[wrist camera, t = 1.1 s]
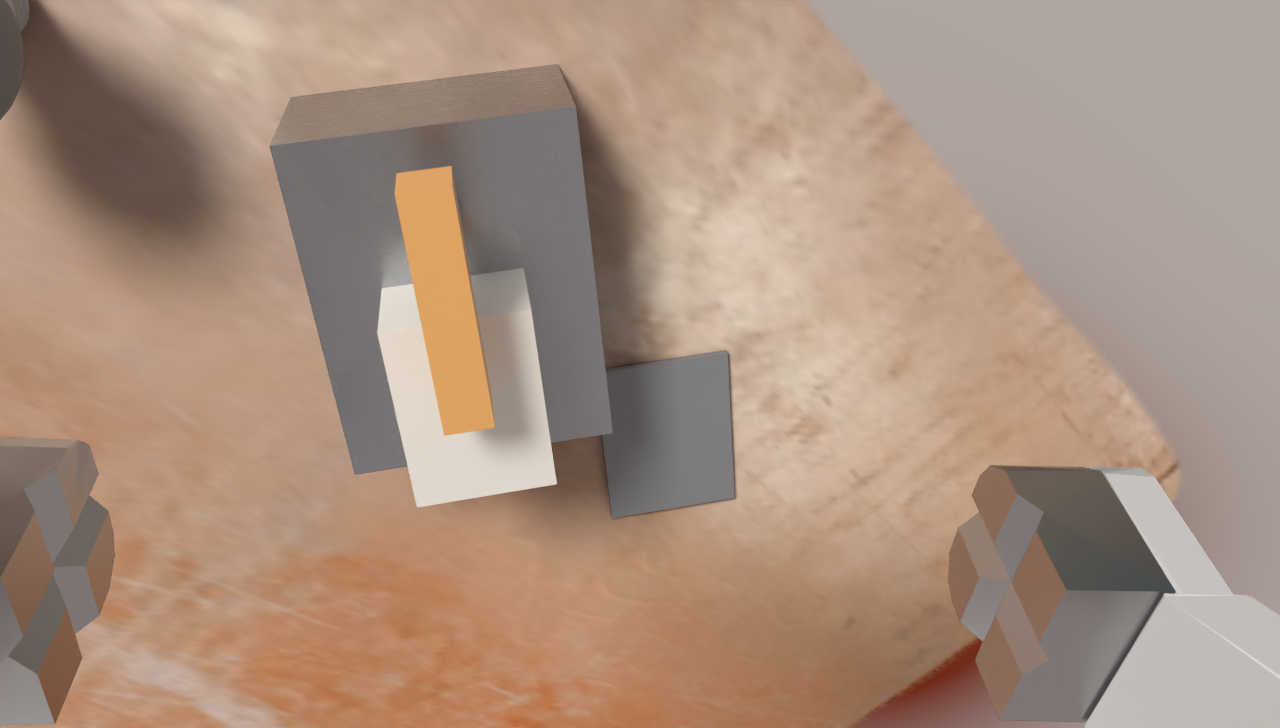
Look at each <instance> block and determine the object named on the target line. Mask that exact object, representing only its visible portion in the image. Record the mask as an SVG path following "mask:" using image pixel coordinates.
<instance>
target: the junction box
mask: <svg viewBox="0 0 1280 728" xmlns="http://www.w3.org/2000/svg"><path fill="white" fill-rule="evenodd" d="M270 149H271V153H272V157H273V161H274V165H275V169H276V173H277V176H278V180H279V184H280V188H281V192H282V196H283V200H284V203H285V207H286V211H287V215H288V219H289V223H290V226H291V230H292V234H293V238H294V242H295V246H296V250H297V253H298V257H299V261H300V265H301V269H302V273H303V277H304V280H305V284H306V288H307V292H308V296H309V300H310V304H311V307H312V311H313V315H314V319H315V323H316V327H317V330H318V334H319V338H320V342H321V346H322V350H323V354H324V357H325V361H326V365H327V369H328V373H329V377H330V381H331V384H332V388H333V392H334V396H335V400H336V404H337V408H338V411H339V415H340V419H341V423H342V427H343V431H344V435H345V438H346V442H347V446H348V450H349V454H350V458H351V461H352V465H353V469H354V473H355V475H357V474H363V473H369V472H375V471H381V470H388V469H394V468H400V467H406V466H407V461H406V457H405V453H404V448H403V444H402V439H401V435H400V431H399V426H398V422H397V418H396V413H395V409H394V405H393V400H392V396H391V391H390V387H389V383H388V378H387V374H386V370H385V365H384V361H383V356H382V352H381V348H380V343H379V339H378V335H377V330H378V320H379V310H380V300H381V290H382V288H388V287H395V286H402V285H409V284H413V282H412V277H411V272H410V267H409V262H408V258H407V253H406V248H405V243H404V238H403V233H402V228H401V223H400V219H399V214H398V209H397V204H396V199H395V183H396V173H402V172H410V171H417V170H425V169H432V168H440V167H447V166H452V171H453V177H454V183H455V188H456V194H457V200H458V202H459V203H460V206H461V210H462V224H463V234H464V240H465V246H466V251H467V257H468V263H469V268H470V274H471V275H478V274H485V273H492V272H499V271H506V270H513V269H520V268H524V273H525V278H526V284H527V289H528V295H529V300H530V306H531V311H532V318H533V325H534V332H535V339H536V345H537V352H538V359H539V366H540V373H541V379H542V386H543V393H544V400H545V407H546V413H547V420H548V427H549V434H550V441H551V443H555V442H561V441H567V440H574V439H580V438H586V437H592V436H598V435H604V434H611V433H613V431H612V422H611V413H610V404H609V395H608V387H607V378H606V369H605V360H604V351H603V342H602V333H601V324H600V315H599V306H598V298H597V289H596V280H595V271H594V262H593V253H592V244H591V235H590V226H589V217H588V209H587V200H586V191H585V182H584V173H583V164H582V155H581V146H580V137H579V129H578V120H577V111H576V105H575V103H574V101H573V98H572V96H571V94H570V91H569V89H568V87H567V84H566V82H565V80H564V77H563V75H562V73H561V70H560V68H559V66H558V65H550V66H542V67H534V68H526V69H518V70H510V71H502V72H494V73H485V74H477V75H469V76H461V77H453V78H445V79H437V80H429V81H421V82H413V83H405V84H397V85H389V86H381V87H372V88H364V89H356V90H348V91H340V92H332V93H324V94H316V95H308V96H300V97H292V98H291V99H290V101H289V103H288V105H287V108H286V110H285V112H284V114H283V117H282V119H281V121H280V123H279V126H278V128H277V130H276V132H275V135H274V137H273V139H272V142H271V144H270Z"/></svg>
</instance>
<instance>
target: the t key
mask: <svg viewBox="0 0 1280 728" xmlns="http://www.w3.org/2000/svg"><path fill="white" fill-rule="evenodd" d="M395 199H396V204H397V209H398V214H399V219H400V223H401V228H402V233H403V238H404V243H405V248H406V253H407V258H408V262H409V267H410V272H411V277H412V282H413V287H414V292H415V297H416V301H417V306H418V311H419V316H420V321H421V326H422V331H423V336H424V340H425V345H426V350H427V355H428V360H429V365H430V370H431V375H432V379H433V384H434V389H435V394H436V399H437V404H438V409H439V414H440V418H441V423H442V428H443V433H444V436H446V435H453V434H459V433H465V432H472V431H478V430H484V429H490V428H495V422H494V411H493V400H492V394H491V388H490V383H489V377H488V371H487V365H486V360H485V354H484V348H483V343H482V337H481V331H480V325H479V320H478V314H477V308H476V303H475V297H474V291H473V286H472V280H471V274H470V268H469V263H468V257H467V251H466V246H465V240H464V234H463V224H462V210H461V206H460V203H459V202H458V200H457V194H456V188H455V183H454V177H453V171H452V166H447V167H440V168H432V169H425V170H417V171H410V172H402V173H396V183H395Z"/></svg>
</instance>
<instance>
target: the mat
mask: <svg viewBox="0 0 1280 728" xmlns="http://www.w3.org/2000/svg"><path fill="white" fill-rule="evenodd" d="M606 378H607V387H608V395H609V404H610V413H611V422H612V431H613V433H611V434H604V435H602V441H603V449H604V457H605V466H606V474H607V483H608V491H609V500H610V508H611V516H612V519H613V518H619V517H625V516H631V515H637V514H643V513H649V512H655V511H661V510H666V509H672V508H678V507H684V506H690V505H696V504H702V503H708V502H714V501H719V500H725V499H731V498H735V494H734V473H733V452H732V431H731V409H730V388H729V367H728V353H727V351H726V350H725V351H719V352H712V353H706V354H699V355H693V356H686V357H680V358H673V359H667V360H661V361H654V362H648V363H641V364H635V365H628V366H622V367H615V368H609V369H606Z"/></svg>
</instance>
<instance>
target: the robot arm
mask: <svg viewBox="0 0 1280 728" xmlns="http://www.w3.org/2000/svg"><path fill="white" fill-rule="evenodd" d="M97 476H98V470H97V467H96V464H95V461H94V458H93V454H92V451H91V448H90V445H88V444H86V443H84V442H82V441H80V440H68V439H48V438H28V437H8V436H0V726H12V725H46V724H55V723H56V721H57V718H58V716H59V713H60V711H61V709H62V706H63V704H64V701H65V699H66V696H67V694H68V691H69V689H70V687H71V684H72V682H73V679H74V677H75V674H76V672H77V669H78V667H79V665H80V662H81V660H82V656H81V652H80V649H79V646H78V642H77V639H76V636H75V634H76V633H77V632H78V631H80V630H81V629H82V628H84V627H85V626H86V625H87V624H89V623H90V622H91V621H93V620H94V619H95V618H97V617H98V616H99V615H100V612H101V610H102V607H103V604H104V602H105V599H106V596H107V594H108V591H109V588H110V582H111V576H112V570H113V564H114V557H115V552H114V533H113V528H112V524H111V520H110V515H109V511H108V510H107V509H105V508H104V507H103V506H102V505H100V504H99V503H98V502H97V501H95V500H94V499H93V498H92V497H90V496H89V494H90V492H91V490H92V487H93V485H94V483H95V481H96V479H97ZM972 497H973V499H974V501H975V503H976V506H977V508H978V510H979V513H978V514H976V515H975V516H974V517H972V518H971V519H969V520H968V521H967V522H965V523H964V524H963V525H961V526H960V527H959V528H958V530H957V533H956V536H955V538H954V541H953V544H952V547H951V550H950V552H949V572H948V582H949V587H950V593H951V598H952V602H953V605H954V608H955V610H956V613H957V616H958V618H959V621H960V623H961V624H963V625H964V626H965V627H966V628H967V629H968V630H970V631H971V632H972V633H973V634H974V635H976V636H977V637H978V638H979V639H980V640H982V641H983V643H982V645H981V648H980V650H979V652H978V655H977V657H976V660H975V662H976V664H977V667H978V669H979V672H980V674H981V677H982V679H983V681H984V684H985V686H986V689H987V691H988V694H989V696H990V699H991V701H992V704H993V706H994V709H995V711H996V714H997V716H998V719H999V720H1015V721H1017V720H1018V721H1058V722H1086V724H1085V726H1084V727H1085V728H1280V616H1279V615H1278V614H1276V613H1274V612H1273V611H1272V610H1270V609H1269V608H1267V607H1266V606H1264V605H1263V604H1261V603H1260V602H1258V601H1257V600H1255V599H1253V598H1252V597H1251V596H1249V595H1233V594H1232V592H1231V591H1230V589H1229V588H1228V586H1227V585H1226V583H1225V582H1224V580H1223V579H1222V577H1221V576H1220V574H1219V573H1218V572H1217V570H1216V568H1215V567H1214V565H1213V564H1212V563H1211V561H1210V559H1209V558H1208V557H1207V555H1206V554H1205V552H1204V550H1203V549H1202V547H1201V546H1200V544H1199V543H1198V541H1197V540H1196V538H1195V537H1194V535H1193V534H1192V532H1191V531H1190V530H1189V528H1188V527H1187V525H1186V523H1185V522H1184V521H1183V519H1182V518H1181V516H1180V515H1179V513H1178V512H1177V510H1176V509H1175V507H1174V506H1173V504H1172V503H1171V501H1170V500H1169V498H1168V497H1167V495H1166V494H1165V492H1164V491H1163V489H1162V488H1161V486H1160V485H1159V483H1158V482H1157V480H1156V479H1155V477H1154V476H1153V475H1152V474H1150V473H1149V472H1147V471H1146V470H1144V469H1143V468H1141V467H1089V468H1085V467H1054V466H1004V465H990V466H989V467H988V468H987V469H986V470H985V471H984V472H983V473H982V474H981V475H980V477H979V479H978V481H977V484H976V486H975V488H974V491H973V493H972Z"/></svg>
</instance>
